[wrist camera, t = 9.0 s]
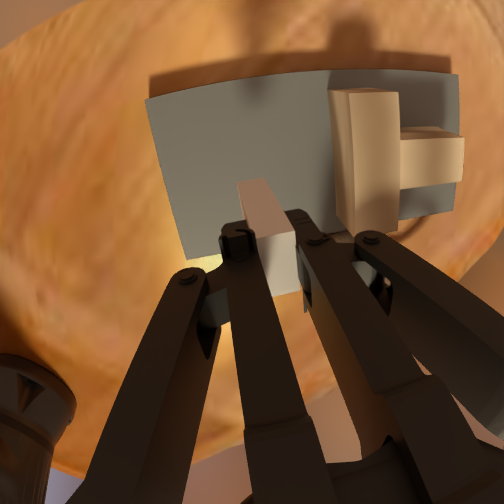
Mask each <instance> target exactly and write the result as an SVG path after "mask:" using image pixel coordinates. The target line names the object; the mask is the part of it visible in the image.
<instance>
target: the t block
mask: <svg viewBox="0 0 504 504" xmlns="http://www.w3.org/2000/svg"><path fill="white" fill-rule="evenodd" d="M327 95H328V104H329V113H330V123H331V135H332V147H333V160H334V175H335V194H336V215H337V217H338V218H339V219H340V220H341V222H342V223H343V224H344V226H345V227H346V228H347V229H348V231H349V232H350V233H351V235H352V236H353V237H355V235H356V234H358V233H359V232H362V231H366V230H374V231H379V232H381V233H388V232H393V231H397V230H398V216H399V197H400V189H407V188H414V187H422V186H429V185H437V184H444V183H452V182H461V181H462V172H463V159H464V139H465V138H464V137H462V136H459V135H457V134H454V133H451V132H449V131H446V130H443V129H441V128H438V127H435V126H425V127H400V113H399V95H398V92H395V91H389V90H383V89H376V88H350V89H332V90H327Z"/></svg>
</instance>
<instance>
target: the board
mask: <svg viewBox="0 0 504 504" xmlns="http://www.w3.org/2000/svg"><path fill="white" fill-rule="evenodd" d="M350 88H376V89H383V90H389V91H395V92H398V95H399V113H400V127H425V126H435V127H438V128H441V129H443V130H446V131H449V132H451V133H454V134H457V135H459V81H458V75H456V74H448V73H439V72H428V71H414V70H395V69H338V70H318V71H304V72H292V73H282V74H273V75H265V76H257V77H250V78H243V79H237V80H231V81H225V82H220V83H214V84H209V85H204V86H199V87H194V88H190V89H185V90H181V91H177V92H172V93H168V94H164V95H160V96H157V97H153V98H149V99H146V100H145V104H146V109H147V113H148V118H149V122H150V126H151V131H152V135H153V139H154V143H155V147H156V151H157V155H158V159H159V163H160V167H161V171H162V175H163V179H164V182H165V186H166V190H167V193H168V197H169V201H170V204H171V208H172V212H173V215H174V219H175V222H176V226H177V229H178V233H179V236H180V239H181V243H182V246H183V249H184V253H185V256H186V259H187V260H189V259H195V258H200V257H205V256H211V255H216V254H221V250H220V246H219V242H218V239H219V236H220V235H221V229H222V227H223V226H224V224H226V223H231V222H235V221H240V220H243V215H242V210H241V204H240V199H239V193H238V188H237V182H240V181H246V180H251V179H256V178H262V177H264V178H265V180H266V182H267V183H268V185H269V187H270V188H271V190H272V192H273V194H274V195H275V197H276V199H277V200H278V202H279V204H280V206H281V207H282V209H283V211H288V210H293V209H298V208H300V209H302V210H304V211H306V212H307V213H308V215H309V216H310V218H311V219H312V220H313V222H314V223H315V224H316V226H317V227H318V229H319V230H320V231H321V232H324V233H327V234H328V233H334V232H339V231H344V230H348V229H347V228H346V227H345V226H344V224H343V223H342V222H341V220H340V219H339V218H338V217H337V215H336V194H335V175H334V160H333V147H332V135H331V123H330V113H329V104H328V95H327V90H332V89H350ZM455 189H456V182H452V183H444V184H437V185H429V186H422V187H414V188H407V189H400V197H399V216H398V221H399V220H404V219H410V218H415V217H421V216H426V215H432V214H437V213H443V212H448V211H453V206H454V198H455Z"/></svg>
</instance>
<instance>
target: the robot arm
mask: <svg viewBox="0 0 504 504" xmlns="http://www.w3.org/2000/svg"><path fill="white" fill-rule="evenodd" d="M237 188H238V193H239V199H240V204H241V210H242V215H243V220H240V221H235V222H231V223H226V224H224V226H223V227H222V229H221V235H220V236H219V239H218V242H219V246H220V250H221V254H222V258H223V263H222V264H221V265H220V266H219V267H218V268H216V269H215V270H213V271H211V272H208V273H205V271H204V270H203V269H201V268H197V267H191V268H185V269H182V270H180V271H178V272H177V273H175V274H174V275H173V276H172V278H171V279H170V281H169V283H168V285H167V287H166V289H165V291H164V293H163V295H162V297H161V299H160V301H159V304H158V306H157V308H156V310H155V312H154V314H153V316H152V318H151V320H150V323H149V325H148V327H147V329H146V331H145V333H144V336H143V338H142V340H141V342H140V344H139V347H138V349H137V351H136V353H135V355H134V358H133V360H132V362H131V364H130V367H129V369H128V371H127V374H126V376H125V378H124V381H123V383H122V385H121V388H120V390H119V392H118V395H117V397H116V400H115V402H114V404H113V407H112V409H111V412H110V414H109V417H108V419H107V422H106V424H105V427H104V429H103V432H102V434H101V437H100V439H99V442H98V444H97V447H96V450H95V452H94V455H93V458H92V460H91V463H90V466H89V469H88V471H87V474H86V477H85V480H84V481H83V482H82V484H81V485H80V486H79V487H78V489H77V490H76V491H75V492H74V493H73V495H72V496H71V497H70V499H69V500H68V501H67V502H66V503H65V504H182V501H183V496H184V492H185V487H186V483H187V478H188V474H189V469H190V465H191V460H192V456H193V451H194V447H195V443H196V438H197V434H198V429H199V425H200V421H201V416H202V412H203V407H204V403H205V399H206V394H207V390H208V386H209V381H210V377H211V373H212V369H213V364H214V360H215V356H216V352H217V347H218V343H219V339H220V335H221V325H223V324H225V323H227V322H230V323H231V331H232V338H233V346H234V353H235V361H236V368H237V375H238V382H239V389H240V396H241V403H242V409H243V416H244V423H245V429H244V442H245V449H246V455H247V462H248V468H249V474H250V481H251V487H252V494H251V495H249V496H248V497H247V498H246V499H245V500H244V501H242V502H241V504H504V447H503V450H502V449H500V448H497V447H494V446H493V445H490V444H488V443H486V442H483V441H481V440H479V439H477V438H476V437H475V435H474V434H473V431H472V430H471V428H470V426H469V424H468V423H467V421H466V419H465V417H464V415H463V414H462V412H461V410H460V409H459V407H458V405H457V403H456V402H455V400H454V399H453V397H452V395H453V396H454V397H455V398H456V399H457V400H458V401H459V402H460V403H461V404H462V405H463V406H464V407H465V408H466V409H467V410H468V411H469V412H470V413H471V414H472V415H473V416H474V417H475V419H476V420H478V421H479V422H480V423H481V424H482V425H483V426H484V427H485V428H486V429H488V430H489V431H490V432H491V433H493V434H494V435H496V436H497V437H499V438H501V439H502V440H504V317H503V316H502V315H501V314H499V313H498V312H497V311H495V310H494V309H493V308H492V307H490V306H489V305H488V304H486V303H485V302H484V301H482V300H481V299H479V298H478V297H477V296H475V295H474V294H473V293H471V292H470V291H469V290H467V289H466V288H464V287H463V286H462V285H460V284H459V283H457V282H456V281H455V280H453V279H452V278H450V277H449V276H447V275H446V274H445V273H443V272H442V271H440V270H439V269H437V268H436V267H434V266H433V265H431V264H430V263H428V262H427V261H425V260H424V259H422V258H421V257H419V256H418V255H416V254H415V253H413V252H412V251H410V250H409V249H407V248H406V247H404V246H403V245H401V244H399V243H398V242H396V241H395V240H393V239H392V238H390V237H388V236H387V235H385V234H383V233H381V232H379V231H374V230H366V231H362V232H359V233H358V234H356V235H355V237H354V243H338V242H336V241H335V240H334V238H333V237H332V236H331V235H329V234H327V233H324V232H321V231H320V230H319V229H318V227H317V226H316V224H315V223H314V222H313V220H312V219H311V218H310V216H309V215H308V213H307V212H306V211H304V210H302V209H300V208H298V209H293V210H288V211H283V209H282V207H281V206H280V204H279V202H278V200H277V199H276V197H275V195H274V194H273V192H272V190H271V188H270V187H269V185H268V183H267V182H266V180H265V178H264V177H262V178H256V179H251V180H246V181H240V182H237ZM385 277H386V278H387V279H388V280H389V281H390V286H389V285H387V284H386V283H385ZM299 281H300V282H299ZM300 283H301V285H302V288H303V301H304V313H305V312H307V308H308V311H309V313H310V315H311V318H312V320H313V323H314V325H315V328H316V330H317V333H318V335H319V337H320V340H321V342H322V345H323V347H324V350H325V352H326V355H327V357H328V360H329V362H330V365H331V367H332V370H333V372H334V375H335V377H336V380H337V382H338V385H339V388H340V390H341V393H342V395H343V397H344V400H345V403H346V406H347V408H348V411H349V413H350V416H351V419H352V421H353V424H354V426H355V429H356V432H357V434H358V437H359V440H360V445H361V455H362V460H359V461H355V462H342V463H326V462H325V459H324V456H323V452H322V449H321V445H320V442H319V439H318V436H317V433H316V429H315V426H314V424H313V420H312V419H311V417H310V416H309V415H308V413H307V411H306V408H305V404H304V401H303V398H302V394H301V391H300V388H299V384H298V381H297V378H296V374H295V371H294V368H293V364H292V361H291V358H290V354H289V351H288V348H287V345H286V341H285V338H284V335H283V331H282V328H281V325H280V322H279V318H278V315H277V312H276V308H275V305H274V302H273V299H272V297H274V296H278V295H283V294H288V293H292V292H297V291H300ZM412 355H413V356H414V357H415V358H416V359H417V360H418V361H419V362H420V363H422V365H423V366H424V367H425V368H426V369H427V370H428V371H429V372H430V373H431V374H432V375H425V374H424V373H423V372H422V371H421V369H420V367H419V366H418V364H417V362H416V361H415V359H414V357H413V356H412ZM451 394H452V395H451ZM76 407H77V403H76V400H75V397H74V396H73V394H72V392H71V391H70V390H69V389H68V388H67V386H66V385H65V384H64V383H62V382H61V381H60V380H59V379H58V378H57V377H55V376H54V375H53V374H51V373H50V372H48V371H47V370H45V369H44V368H42V367H40V366H39V365H37V364H35V363H33V362H31V361H28V360H26V359H24V358H21V357H18V356H14V355H8V354H1V355H0V504H45V497H46V491H47V484H48V478H49V473H50V468H51V462H52V457H53V452H54V448H55V445H56V443H57V442H58V441H59V439H60V437H61V436H62V434H63V432H64V431H65V429H66V426H68V425H69V424H70V423H71V422H72V420H73V418H74V415H75V411H76Z"/></svg>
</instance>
